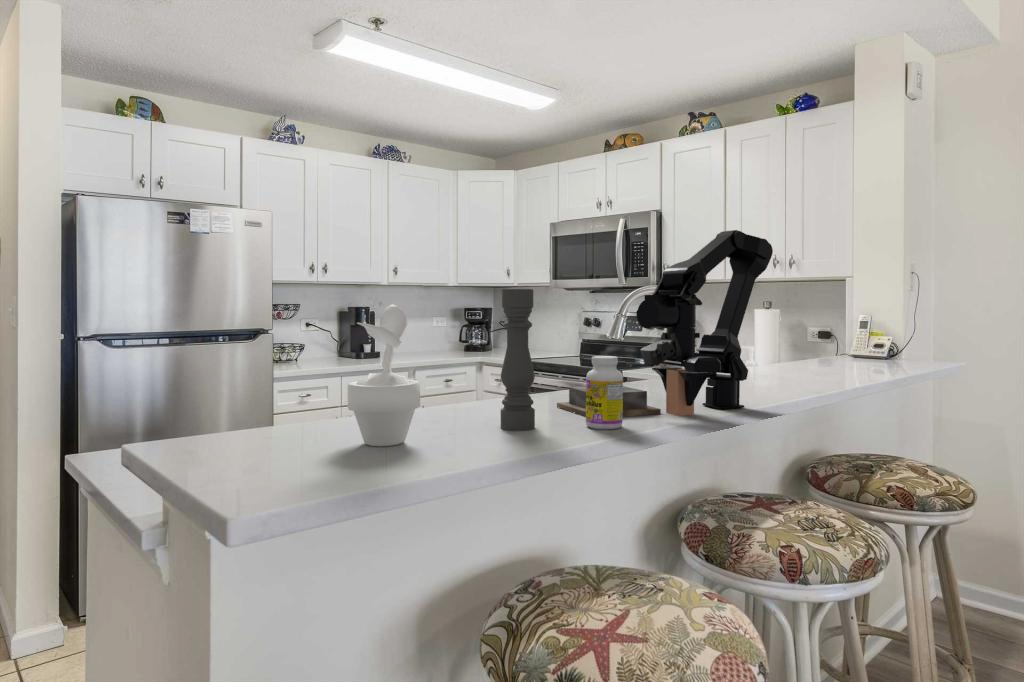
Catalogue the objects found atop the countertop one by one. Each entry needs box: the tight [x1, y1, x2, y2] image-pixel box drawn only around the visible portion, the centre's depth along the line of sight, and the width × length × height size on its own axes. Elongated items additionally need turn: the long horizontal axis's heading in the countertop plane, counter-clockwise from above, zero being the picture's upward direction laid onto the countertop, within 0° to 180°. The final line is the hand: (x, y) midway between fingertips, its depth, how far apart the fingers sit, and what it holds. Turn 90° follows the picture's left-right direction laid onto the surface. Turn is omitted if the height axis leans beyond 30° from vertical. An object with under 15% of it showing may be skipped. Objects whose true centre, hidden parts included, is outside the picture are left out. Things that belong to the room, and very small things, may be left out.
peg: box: [665, 368, 695, 417], centre depth 135 cm, size 4×4×9 cm
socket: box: [556, 385, 662, 418], centre depth 139 cm, size 16×16×4 cm
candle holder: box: [500, 288, 536, 432], centre depth 119 cm, size 6×6×25 cm
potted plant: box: [346, 290, 421, 448], centre depth 104 cm, size 13×12×25 cm
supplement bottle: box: [585, 355, 624, 431], centre depth 119 cm, size 7×7×13 cm
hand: (680, 403), depth 135 cm, fingers open, 6 cm apart
